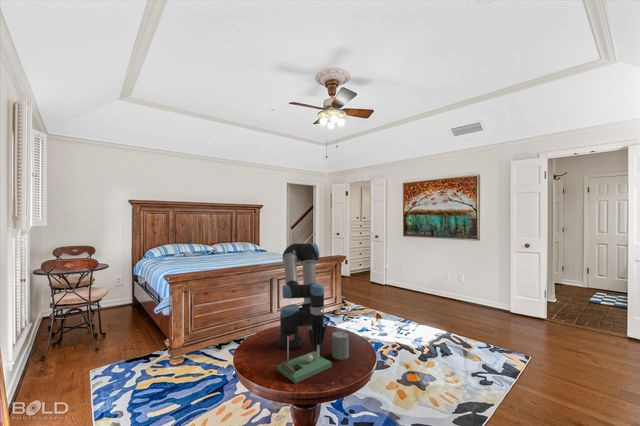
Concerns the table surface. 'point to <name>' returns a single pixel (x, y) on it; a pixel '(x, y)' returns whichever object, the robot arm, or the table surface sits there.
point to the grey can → (340, 345)
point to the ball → (309, 358)
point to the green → (302, 365)
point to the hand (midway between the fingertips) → (316, 356)
